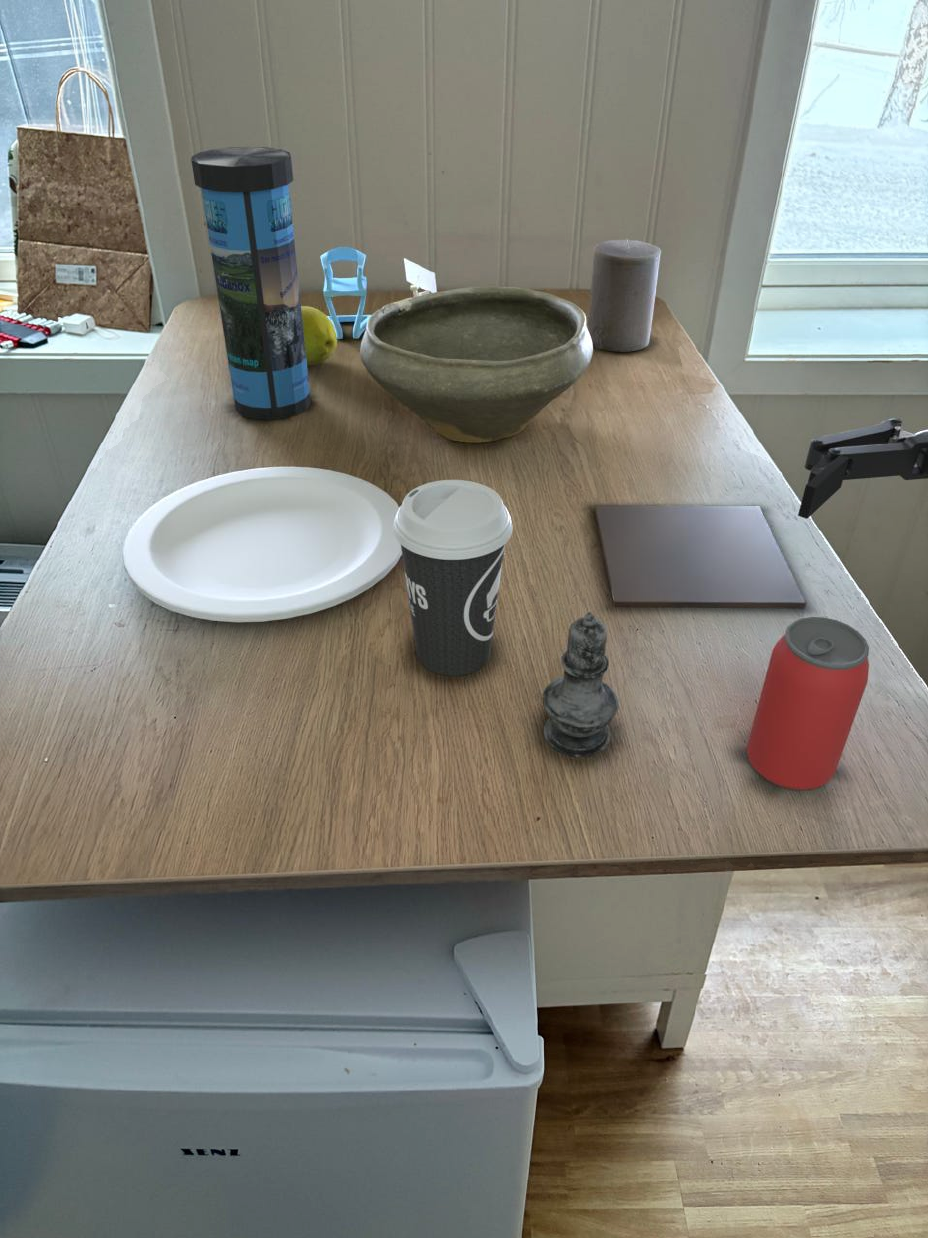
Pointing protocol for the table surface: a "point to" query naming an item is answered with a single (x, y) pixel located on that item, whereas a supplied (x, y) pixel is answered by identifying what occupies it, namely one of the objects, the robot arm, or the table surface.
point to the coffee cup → (453, 570)
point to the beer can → (808, 702)
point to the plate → (263, 544)
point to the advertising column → (256, 276)
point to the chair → (345, 288)
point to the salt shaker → (581, 693)
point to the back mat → (694, 557)
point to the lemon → (317, 335)
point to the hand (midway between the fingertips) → (895, 533)
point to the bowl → (477, 357)
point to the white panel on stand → (420, 278)
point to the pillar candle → (623, 294)
